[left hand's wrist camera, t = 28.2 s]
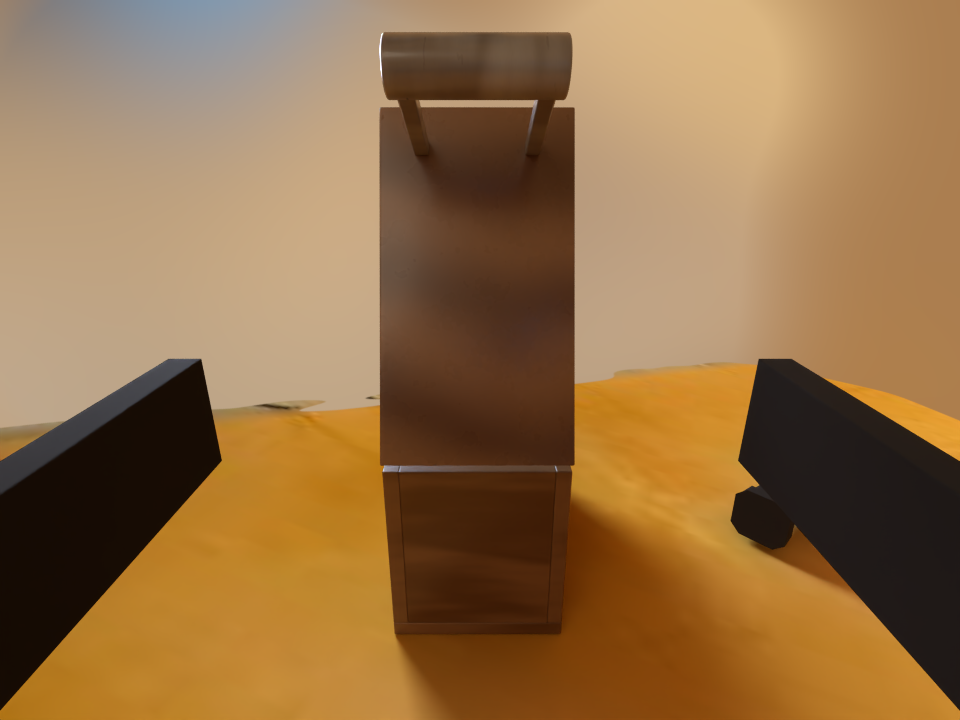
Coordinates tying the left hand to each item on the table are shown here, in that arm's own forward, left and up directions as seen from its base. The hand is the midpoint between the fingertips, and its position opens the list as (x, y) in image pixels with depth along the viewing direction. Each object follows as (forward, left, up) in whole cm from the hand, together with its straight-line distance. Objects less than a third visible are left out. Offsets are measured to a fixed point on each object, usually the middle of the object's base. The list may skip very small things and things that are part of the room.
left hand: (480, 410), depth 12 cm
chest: (+9, -17, -20) cm, 28 cm away
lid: (+6, -13, 0) cm, 14 cm away
